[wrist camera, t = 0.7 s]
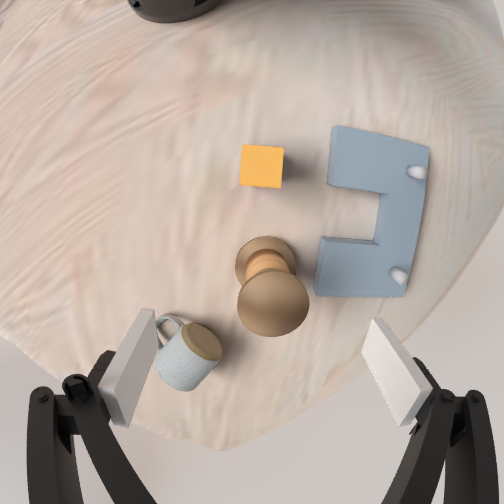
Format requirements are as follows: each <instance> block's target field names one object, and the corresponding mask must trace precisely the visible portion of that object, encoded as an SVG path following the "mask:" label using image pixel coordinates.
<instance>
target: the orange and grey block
mask: <svg viewBox="0 0 504 504" xmlns="http://www.w3.org/2000/svg"><path fill="white" fill-rule="evenodd" d="M283 155H284V148H280V147H270V146H257V145H243V144H242V157H241V171H240V185H244V186H259V187H272V188H281V179H282V167H283Z"/></svg>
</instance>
